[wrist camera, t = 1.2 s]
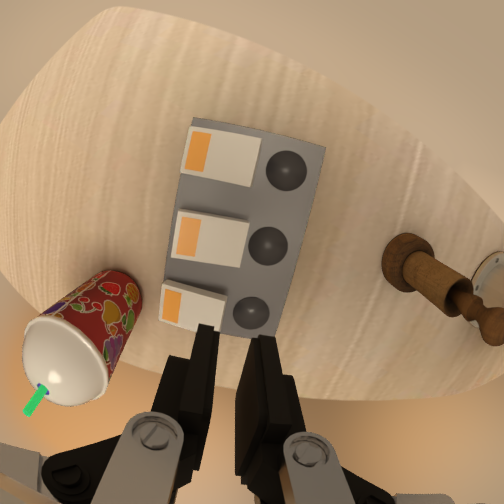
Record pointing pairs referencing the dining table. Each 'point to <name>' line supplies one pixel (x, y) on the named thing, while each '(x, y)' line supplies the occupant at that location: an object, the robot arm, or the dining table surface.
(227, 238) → the block
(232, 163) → the block
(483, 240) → the dining table surface
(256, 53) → the dining table surface
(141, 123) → the dining table surface
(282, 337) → the dining table surface
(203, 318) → the rocker
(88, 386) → the smoothie
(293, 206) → the power strip
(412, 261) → the mortar and pestle
